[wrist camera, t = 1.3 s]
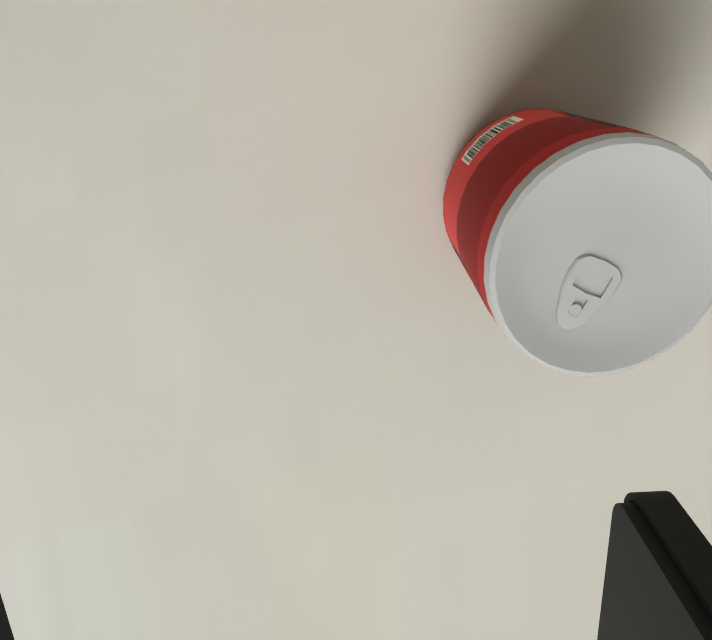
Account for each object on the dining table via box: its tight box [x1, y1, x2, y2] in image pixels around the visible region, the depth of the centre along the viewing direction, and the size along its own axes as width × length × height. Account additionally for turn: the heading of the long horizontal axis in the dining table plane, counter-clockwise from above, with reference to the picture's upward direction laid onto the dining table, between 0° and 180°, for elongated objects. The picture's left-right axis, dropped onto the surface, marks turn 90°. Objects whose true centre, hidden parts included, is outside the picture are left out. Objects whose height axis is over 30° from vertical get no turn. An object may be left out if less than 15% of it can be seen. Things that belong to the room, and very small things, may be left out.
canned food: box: [443, 109, 712, 376], centre depth 26 cm, size 8×8×11 cm
